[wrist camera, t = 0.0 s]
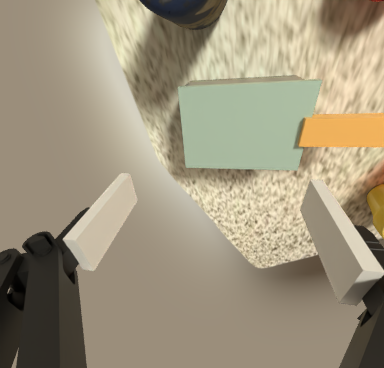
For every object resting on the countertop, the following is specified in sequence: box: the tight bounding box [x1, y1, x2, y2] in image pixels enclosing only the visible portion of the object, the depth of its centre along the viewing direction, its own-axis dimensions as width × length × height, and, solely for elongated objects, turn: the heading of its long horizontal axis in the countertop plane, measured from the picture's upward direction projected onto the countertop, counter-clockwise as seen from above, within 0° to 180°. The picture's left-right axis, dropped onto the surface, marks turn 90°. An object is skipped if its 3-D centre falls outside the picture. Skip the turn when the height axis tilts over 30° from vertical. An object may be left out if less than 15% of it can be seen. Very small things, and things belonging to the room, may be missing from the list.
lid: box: [178, 79, 384, 170], centre depth 29 cm, size 13×30×2 cm, turn 94°
